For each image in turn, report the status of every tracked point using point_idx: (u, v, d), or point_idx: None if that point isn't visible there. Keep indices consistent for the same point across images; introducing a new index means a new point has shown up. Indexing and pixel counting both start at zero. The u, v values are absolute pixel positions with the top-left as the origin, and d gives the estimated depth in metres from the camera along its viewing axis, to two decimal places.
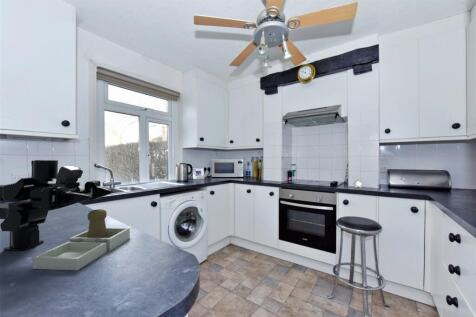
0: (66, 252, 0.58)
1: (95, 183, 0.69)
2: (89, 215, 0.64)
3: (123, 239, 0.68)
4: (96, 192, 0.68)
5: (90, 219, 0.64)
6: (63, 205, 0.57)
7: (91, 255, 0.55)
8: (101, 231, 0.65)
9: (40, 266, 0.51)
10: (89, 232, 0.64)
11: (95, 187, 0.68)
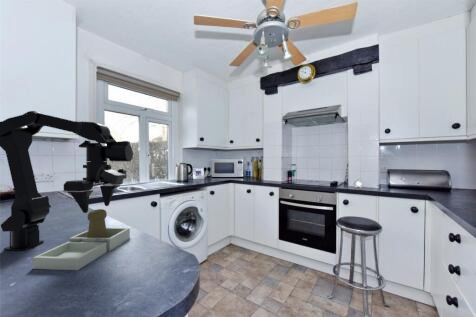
0: (66, 252, 0.58)
1: (115, 187, 0.72)
2: (89, 215, 0.64)
3: (123, 239, 0.68)
4: (106, 190, 0.72)
5: (90, 219, 0.64)
6: (73, 194, 0.60)
7: (91, 255, 0.55)
8: (101, 231, 0.65)
9: (40, 266, 0.51)
10: (89, 232, 0.64)
11: (111, 189, 0.72)
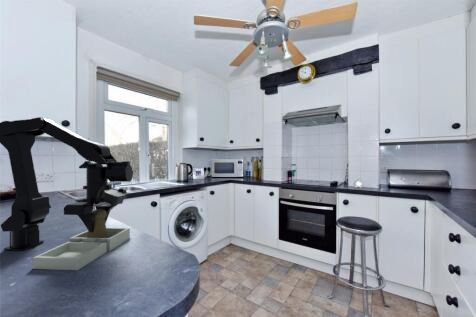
0: (66, 252, 0.58)
1: (111, 207, 0.70)
2: None
3: (123, 239, 0.68)
4: None
5: None
6: (79, 215, 0.62)
7: (91, 255, 0.55)
8: (101, 231, 0.65)
9: (40, 266, 0.51)
10: (89, 232, 0.64)
11: (107, 209, 0.69)
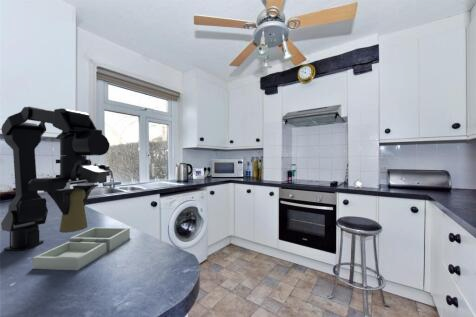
0: (66, 252, 0.58)
1: (92, 187, 0.59)
2: None
3: (123, 239, 0.68)
4: None
5: None
6: (50, 193, 0.52)
7: (91, 255, 0.55)
8: (78, 213, 0.55)
9: (40, 266, 0.51)
10: (63, 215, 0.54)
11: (86, 189, 0.59)
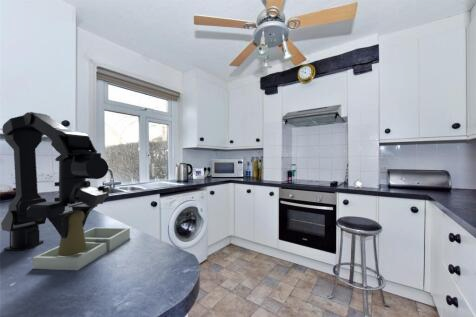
0: None
1: (91, 208, 0.59)
2: None
3: (123, 239, 0.68)
4: None
5: None
6: (49, 217, 0.52)
7: (91, 255, 0.55)
8: (77, 236, 0.55)
9: (40, 266, 0.51)
10: (62, 238, 0.54)
11: (85, 211, 0.58)
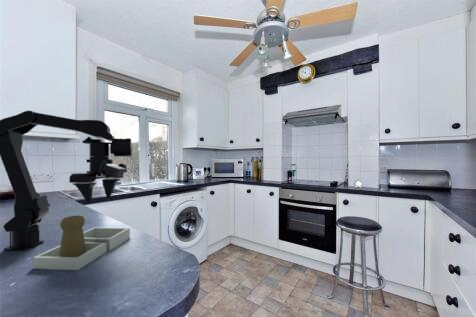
0: None
1: (116, 180, 0.78)
2: (62, 223, 0.53)
3: (123, 239, 0.68)
4: (108, 183, 0.77)
5: (63, 228, 0.53)
6: (78, 186, 0.66)
7: (91, 255, 0.55)
8: (77, 242, 0.55)
9: (40, 266, 0.51)
10: (62, 243, 0.54)
11: (112, 182, 0.77)
